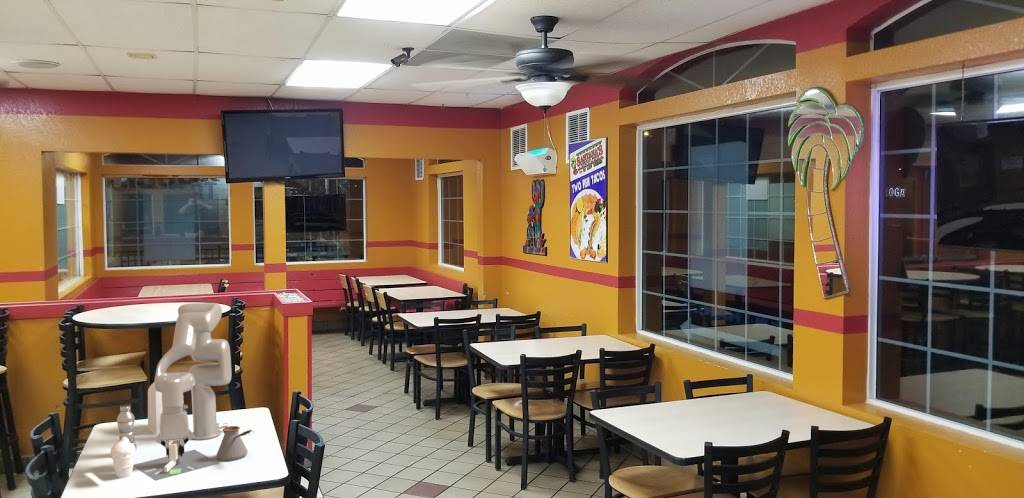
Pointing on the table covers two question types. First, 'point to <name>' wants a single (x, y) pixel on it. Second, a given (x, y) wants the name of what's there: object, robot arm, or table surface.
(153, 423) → the milk
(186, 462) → the plate
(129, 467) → the soft serve ice cream cone
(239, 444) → the coffee pot
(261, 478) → the table surface
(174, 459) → the peg head
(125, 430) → the plastic bottle
